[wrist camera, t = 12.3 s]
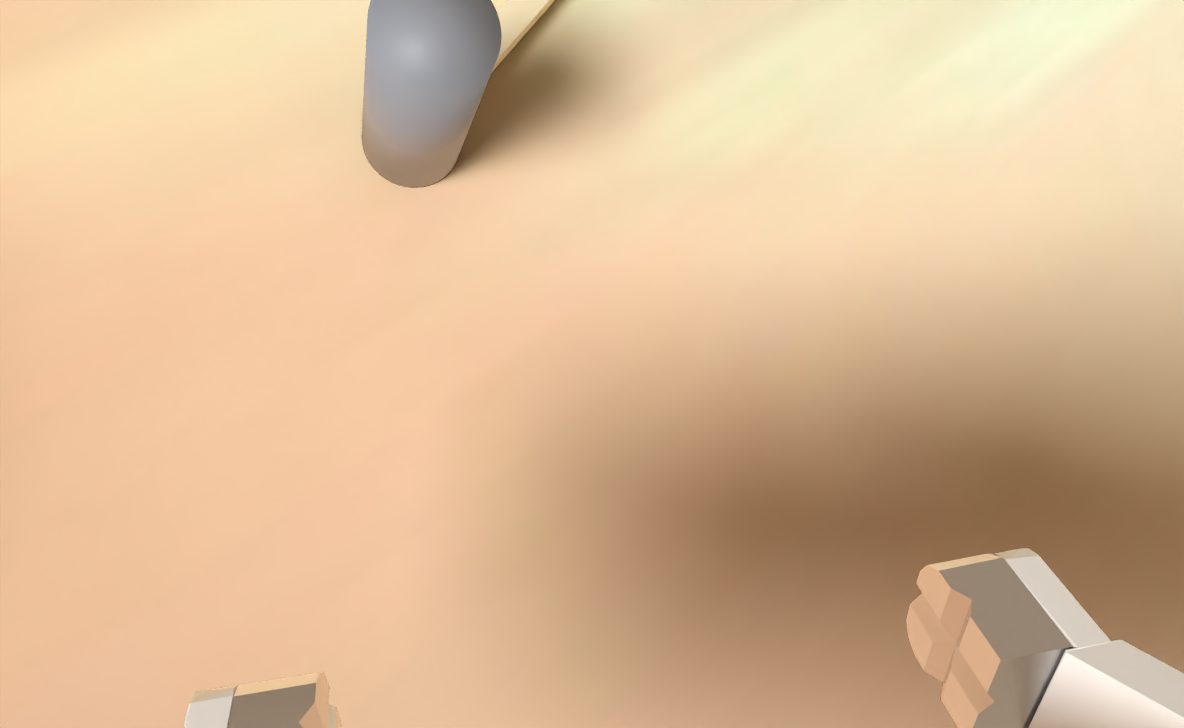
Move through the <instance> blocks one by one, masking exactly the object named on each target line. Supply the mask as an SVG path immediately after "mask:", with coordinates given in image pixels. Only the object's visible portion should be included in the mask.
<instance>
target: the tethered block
mask: <svg viewBox="0 0 1184 728" xmlns="http://www.w3.org/2000/svg"><path fill="white" fill-rule="evenodd" d="M554 1H555V0H508V1H507V2H506V3H505V4H504V6H503V7H502V8H501V9H500V10H499V11H498V12H496V9H495V7H494V5H493V3H492V2H491V0H371V2H370V6H369V10H368V19H367V39H366V59H365V79H364V99H363V119H362V145H363V149H364V152H365V155H366V157H367V159H368V161H369V163H370V164H371V166H372V167H373V168H374V169H375V170H376V171H377V172H378V173H379V174H380V175H381V176H382V177H384V178H385V179H387V180H388V181H390V182H392V183H395V184H397V185H400V186H404V187H411V188H418V187H425V186H429V185H432V184H434V183H436V182H438V181H440V180H442V179H443V178H444V177H445V176H446V175H447V174H448V173H449V172H450V171H451V170H452V168H453V167H454V165H455V163H456V161H457V159H458V156H459V153H460V151H461V148H462V146H463V143H464V141H465V138H466V136H467V133H468V131H469V128H470V126H471V123H472V121H473V118H474V116H475V113H476V111H477V108H478V106H479V103H480V101H481V98H482V96H483V93H484V91H485V88H486V85H487V83H488V80H489V78H490V75H491V73H492V72H493V71H494V70H495V68H496V67H497V66H498V65H499V64H500V63H501V62H502V60H503V59H504V58H505V57H506V56H507V55H508V54H509V52H510V51H511V50H512V49H513V48H514V47H515V46H516V44H517V43H518V42H519V41H520V40H521V39H522V38H523V36H524V35H525V34H526V33H527V32H528V31H529V30H530V28H531V27H532V26H533V25H534V24H535V23H536V22H537V20H538V19H539V18H540V17H541V16H542V15H543V14H544V12H545V11H546V10H547V9H548V8H549V7H550V6H551V4H552V3H553V2H554Z"/></svg>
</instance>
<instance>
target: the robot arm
mask: <svg viewBox="0 0 1184 728" xmlns="http://www.w3.org/2000/svg"><path fill="white" fill-rule="evenodd" d="M916 584H917V586H918V587H919V589H920V590H921V592H922V593H921V594H920V595H919V596H918V597H917V598H916V599H915V600H914V601H913V602H912V603H911V604H910V605H909V610H908V614H907V618H906V625H907V632H908V639H909V642H910V645H911V647H912V650H913V653H914V655H915V657H916V659H917V660H918V662H919V664H920V666H921V667H922V669H923V671H925V672H926V673H928V674H929V675H931V676H932V677H934V678H935V679H937V680H938V681H940V682H942V690H941V698H940V699H941V701H942V703H943V704H944V706H945V708H946V709H947V711H948V713H949V714H950V716H951V718H952V719H953V721H954V723H955V724H956V726H957V728H1184V673H1182V672H1180V671H1179V670H1177V669H1175V668H1173V667H1171V666H1169V665H1167V664H1166V663H1164V662H1162V661H1160V660H1158V659H1156V658H1154V657H1153V656H1151V655H1149V654H1147V653H1145V652H1143V651H1141V650H1140V649H1138V648H1136V647H1134V646H1132V645H1130V644H1128V643H1127V642H1125V641H1123V640H1121V639H1120V640H1114V641H1111V640H1110V639H1109V638H1108V637H1107V636H1106V634H1105V633H1104V632H1103V631H1102V630H1101V629H1100V627H1099V626H1098V625H1097V624H1096V623H1095V621H1094V620H1093V619H1092V618H1091V617H1090V615H1089V614H1088V613H1087V612H1086V611H1085V610H1084V608H1083V607H1082V606H1081V605H1080V604H1079V602H1078V601H1077V600H1076V599H1075V598H1074V596H1073V595H1072V594H1071V593H1070V592H1069V591H1068V589H1067V588H1066V587H1065V586H1064V585H1063V583H1062V582H1061V581H1060V580H1059V579H1058V577H1057V576H1056V575H1055V574H1054V573H1053V572H1052V570H1051V569H1050V568H1049V567H1048V566H1047V564H1046V563H1045V562H1044V561H1043V560H1042V559H1041V557H1040V556H1039V555H1038V554H1037V553H1036V552H1034V551H1032V550H1031V549H1029V548H1019V549H1014V550H1009V551H1004V552H999V553H994V554H989V553H987V554H982V555H977V556H972V557H966V558H961V559H956V560H951V561H945V562H940V563H935V564H930V565H926V566H925V567H924V568H923V569H922V570H920V572H919V575H918V579H917V582H916ZM329 690H330V687H329V684H328V682H327V679H326V677H325V674H324V672H318V673H312V674H305V675H299V676H292V677H286V678H279V679H273V680H266V681H260V682H253V683H247V684H239V685H233V686H227V687H221V688H215V689H210V690H204V691H198V692H196V693H195V695H194V697H193V699H192V700H191V702H190V704H189V706H188V710H187V715H186V719H185V723H184V728H342V725H341V720H340V717H339V714H338V710H337V708H336V707H334V706H332V705H330V704H329Z"/></svg>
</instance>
